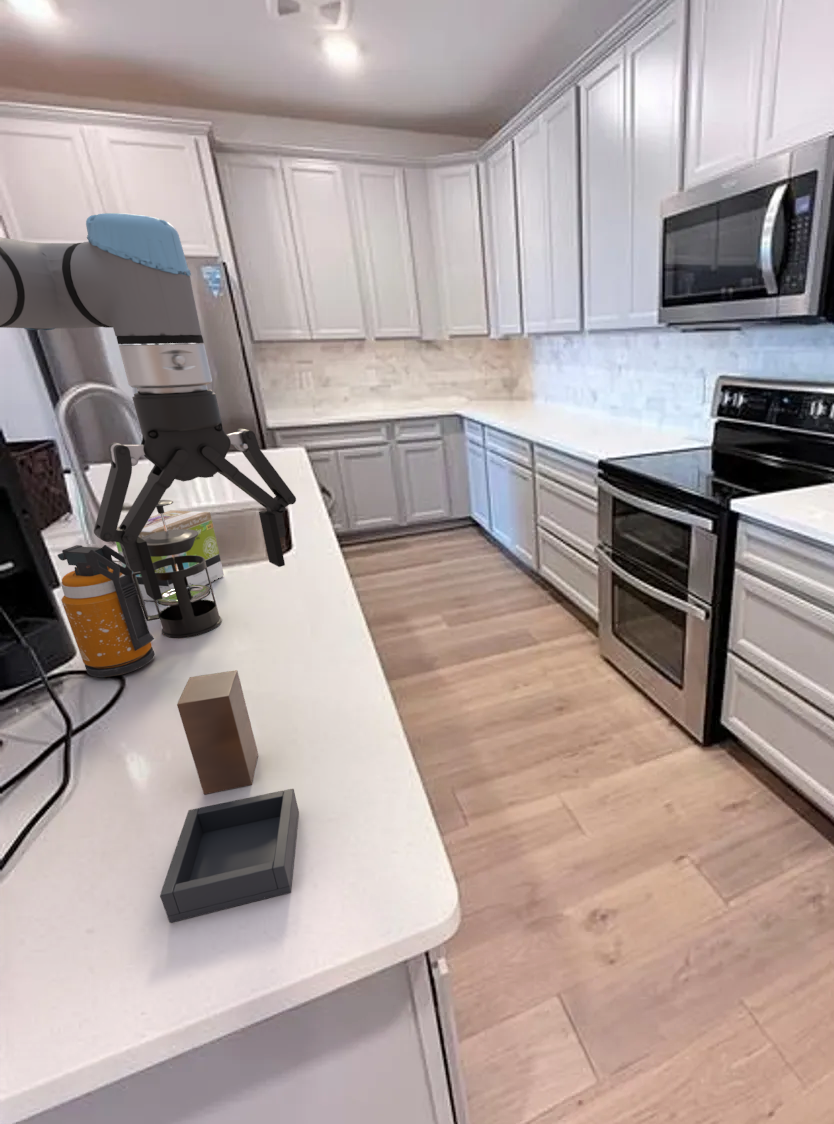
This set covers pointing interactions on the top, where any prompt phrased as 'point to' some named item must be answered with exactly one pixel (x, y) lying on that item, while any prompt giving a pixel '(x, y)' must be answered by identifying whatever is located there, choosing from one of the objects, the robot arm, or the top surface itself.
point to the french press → (179, 584)
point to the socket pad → (232, 855)
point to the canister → (105, 612)
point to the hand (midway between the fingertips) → (219, 579)
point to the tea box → (202, 547)
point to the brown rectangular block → (218, 731)
